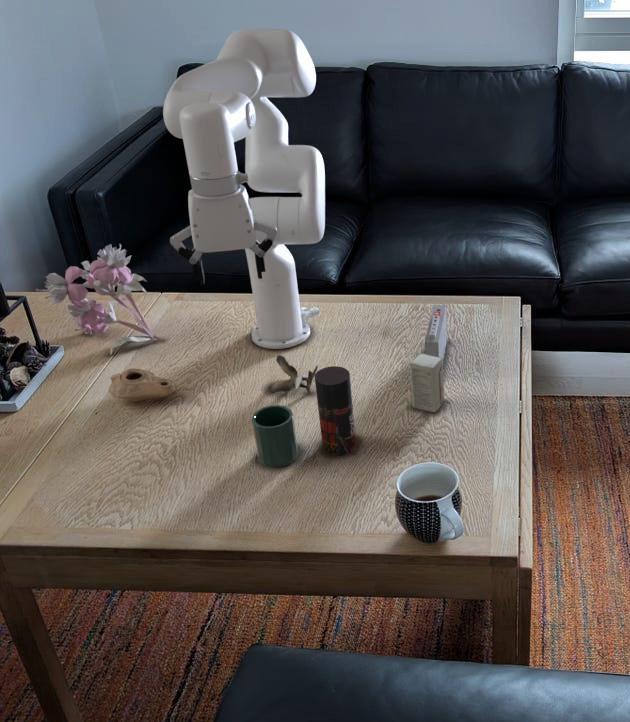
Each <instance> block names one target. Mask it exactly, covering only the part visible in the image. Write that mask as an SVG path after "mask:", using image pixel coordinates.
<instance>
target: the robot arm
mask: <svg viewBox="0 0 630 722" xmlns="http://www.w3.org/2000/svg"><path fill="white" fill-rule="evenodd" d="M316 82H317V73H316V67H315V64H314V62H313V59H312V57H311V56H310V53H309V51H308V49H307V47H306V45H305V44H304V42H303V41H302V39H301V38H300V37H299V36H298V35H297V34H296V33H295V32H293V31H292V30H289V29H286V28H243V29H238V30H235V31H234V32H232V33H231V34H230V35H229V36H228V37H227V38H226V40H225V42H224V44H223V46H222V47H221V49H220V51H219V54H218V56H217V57H216V59H214V60H212V61H210V62H209V61H208V62H206V63H205V64H203V65H200V66H198V67H196V68H193V69H191V70H188V71H187V72H185V73H183V74H181V75H179V76H178V77H177V78H176V79H175V80H174V81H173V83H172V85H171V87H170V88H169V90H168V92H167V94H166V97H165V99H164V103H163V109H162V116H163V121H164V125H165V127H166V129H167V130H168V132H169V133H170V134H171V135H172V136H173V137H175V138H177V139H182V142H183V146H184V147H183V148H184V152H185V158H186V164H187V168H188V175H189V179H190V185H191V189H190V190H189V191H188V193H187V194H188V195H187V196H188V197H187V201H188V202H187V203H188V205H187V206H188V217H189V224H190V225H188V226H186V227H185V228H183V229H182V230H180V231H179V232H177V233H175V234H174V235H172V236H171V237H170V238H169V243H170V245H171V246H172V247H173V248H174V249H175V250H176V251H177V253H178V255H179V256H181V257H183V258H184V259H186V260H187V261H188V262H189V263H190V264H191V267H192V270H193V275H194V279H195V280H198V282H199V286H204V285H205V283H206V282H205V281H206V280H205V279H206V278H205V272H204V267H203V260H202V255H203V254H205V253H216V252H229V251H237V250H238V251H239V250H244V252H245V256H246V261H247V267H248V271H249V273H248V274H249V279H250V285H251V292H252V299H253V304H254V312H255V319H256V326H254V328H253V329H252V331H251V333H250V334H251V340H252V342H253V344H255V345H257V346H259V347H261V348H264V349H269V350H271V349H272V350H282V349H288V348H293V347H295V346H297V345H300V344H302V343H304V342H305V341H306V340H307V339H308V338H309V337H310V335H311V328H310V325H309V324H308V323H307V322H309V319H311V318H314V317H316V316H318V315H320V311H319V308H318V307H316V306H313V307H311V308H309V309H307V307H306V306H302V307H301V304H300V303H301V302H300V295H299V288H298V279H297V271H296V262H295V259H294V257H293V255H292V253H291V252H290V250H289V249H288V248H287V246H286V245H313V244H318V243H319V242H320V241H321V240H322V239H323V237H324V234H325V229H326V173H325V172H326V171H325V163H324V159H323V155H322V153H321V152H320V150H319V149H318V148H316V147H314V146H312V145H308V144H307V145H306V144H289V124H288V121H287V118H285V116H284V114H283V113H282V112H281V111H280V110H279V109H278V108H277V106H275V104H274V103H272V102H271V101H270V100H269V99H268V98H306V97H308V96H310V95H311V94H312V93H313V92H314V90H315V87H316ZM243 139H245V151H244V153H245V154H244V155H245V157H244V158H245V159H244V163H245V165H244V171H245V173H243V172H241V171H239V168H238V161H237V155H236V150H235V143H236V142H239V141H241V140H243ZM244 183H247V185H248V187H249V188H250V189H252V190H253V191H255V192H259V193H292V194H293V193H297V194H298V193H299V194H300V195H301V196H258V197H257V196H256V197H249V194H248V192H247V189H246V187H245V186H244V185H243V184H244ZM190 237H191V240H192V244H193V248H192V249H190V248H189V247H187V246H186V245H184V244H183V241H185V240H186V239H188V238H190Z"/></svg>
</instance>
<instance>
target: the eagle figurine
mask: <svg viewBox="0 0 630 722" xmlns="http://www.w3.org/2000/svg"><path fill="white" fill-rule="evenodd" d="M275 360H276V363H277V364H278V366H279V367H280V369H281V370H282V371H283V373H284V374H286V375H287V376H289V379H284V380H283V379H282V380H278V381H276V382H274V383H273V384H270V385H269V386H268V388H267V389H268V392H269V393H270V394H275V393H281V392H283V393H287V392H290V391H291V389H293V387H295V390H298V389H299V388H302V389H305V390H306V392H307V394H308V395H310V394H311V386H312V383H313V380H314V379H315V374H316V373H317V372H318V368H319V365H315V367H314V369H313V370H312V371H311V370H310V369H309V370H308V373H307V377H304V376H303V375H302V374H301V373H300V374H299V373H298V370H297V369H296V368H295V367H294V365H291V364H290V363H289V362H288V361H287V359H286V358H285V356H284V355H280V354H278V355H276V359H275ZM298 374H299V375H298ZM302 381H303V382H304V381H305V382H306V385H305V384H304V383H302Z"/></svg>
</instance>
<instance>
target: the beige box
mask: <svg viewBox="0 0 630 722" xmlns="http://www.w3.org/2000/svg"><path fill="white" fill-rule="evenodd" d="M409 372H410V373H409V374H410V386H411V402H412V403H411V404H412V408H415V409H419V410H423V411H427V412H431V413H436V412H437V411H438V410H439V409H440V408H441V407H442V406H443V404H444V403H445V383H444V382H445V381H444V358H441V357H437V356H433V355H428V354H425V353H424V352H420V353H419V354H418V355H416V356H415V357H414V358H413V359H411V361H410V362H409Z"/></svg>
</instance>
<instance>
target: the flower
mask: <svg viewBox="0 0 630 722" xmlns="http://www.w3.org/2000/svg"><path fill="white" fill-rule="evenodd" d="M127 251H128V250H127V249H125V248H124V249H122V244H121V243H119V248H116V246H115V247H112V243H110V244H108V245H106V246H104V248H103V249H101V248H100V249H99V250H98V252H97V255H98V256H97V259H96V260H93V261H92V262H91V263H90V261H89V260H84V261H82V262H81V263H80V264H81V265H82V267H83V269H82V268H79V267H78V266H75V265H74V266H73V265H70V266H69V267H68V268H67V269H66V270H65V276H64V277H63V276H61V275H59V274H58V273H56V272H51V273H49V274H48V275H46V276H45V279H46V281H44V284H45V286H44V288H45V289H39V288H35V291H37V292H43V293H45V292H46V293H47V294H48V295H49V296H45V300H47V299H49V298H51V299H50V300H49V301H50V303H52V304H61V303H62V302H64V300H65V299H66V297H68V300H69V303H70V304H67V309H68V310H69V311H70V312H69V315H71V316H72V319H71V320H72V321H75V322H76V325H77V327H74V328H73V330H74V332H78V331H80V330H82V331H83V333H85V335H92V331H93V332H94V333H95V334H104V332H106V331H107V330H108V329H109V326H111V325H113V324H117V323H118V324H120V325H123V326H125V327H127V328H129V329H132V330H134V331H137V332H140V333H142V334H139V335H131V336H120V337H118V338H116V339H115V340H114V342H113V343H112V344H111V346H110V354H109V355H112V354H113V352H114V349H115V348H117V347H119V346H122V345H124V344H126V343H131V342H132V343H133V342H134V343H137V344H139V343H141V344H142V343H143V342H147V341H150V340H159V341H161V338H160V337H158V336H157V335H155V334H154V333H153V332H152V331H151V329H150V327H149V325H148V323H147V321H146V319H145V317H144V315H143V314H142V312H141V310H140V308H139V307H138V305H137V304H136V302H135V300H134V298H133V295H132V292H133V291H134V292H138V291H142V292H143V293H144V294H148V292H147V290H146V289H145V288H144V286H142V285H141V283H140V282H141V281H144V282H148V281H147V280H146V279H145V278H144V277H143V276H141V275H139V274H137V273H132V271H131V269H130V268H129V267H127V265H128V264H129V263H130V261H131V257H132V255H129V256H127V257H126V255H127ZM80 277H81V279H83V280H85V282H84V283H76V282H74V281H75V280H76V279H78V278H80ZM46 288H47V289H46ZM87 288H88V289H94V290H95V292H96V294H98V295H100V296H103V297H104V296H109V297H110V298H113V300H110V301H109V302H108V303H107V310H106V309H105V308H104V305H103V303H98V302H97V300H94V299H90V300H88V294H89V290H88V289H87ZM115 288H116V289H115ZM115 290H116V291H115ZM120 296H124V297H126V299H125V298H120ZM126 300H128V301H129V303H130V305H131V306H132V308H133V309H134V311H136V312H137V314H138V316H139V317H138V316H137V314H136V313H135V312H134V311H133V310H132V309H131V307H129V306H128V305H127V304H126V303H125V302H124V301H126ZM118 305H120V306H121V307H122V308H123V309H124V310H125V311H126V312H127V313H128V314H129V315H130V316H131V317H132V318H133V319H134V320H135V322H136V323H137V324H138V325H139V326H138V325H137V324H135V323H131V322H127V321H124V320H122V319H121V320H120V319H117V317H116V313H115V310H114V308H115V307H116V306H118Z"/></svg>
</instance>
